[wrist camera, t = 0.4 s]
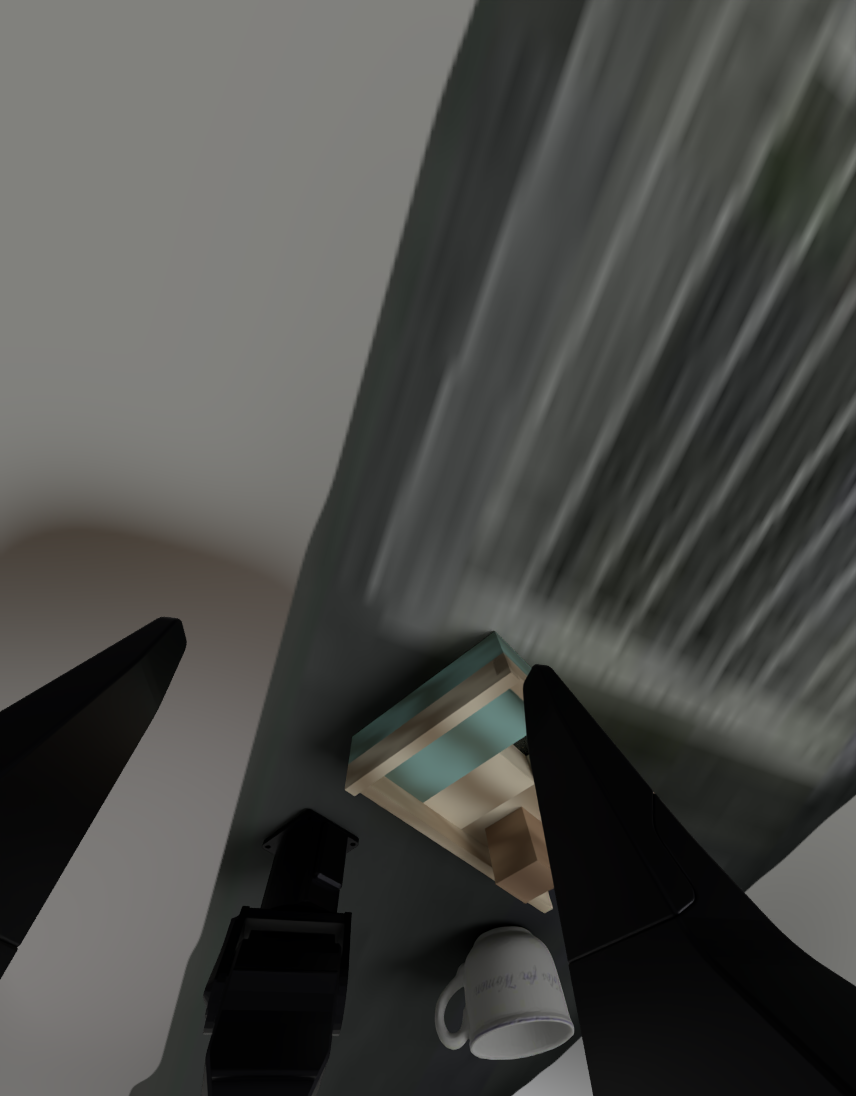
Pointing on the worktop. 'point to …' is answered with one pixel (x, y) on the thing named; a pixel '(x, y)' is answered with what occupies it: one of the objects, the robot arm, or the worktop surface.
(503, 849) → the walnut block
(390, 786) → the track
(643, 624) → the worktop surface
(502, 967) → the teacup
